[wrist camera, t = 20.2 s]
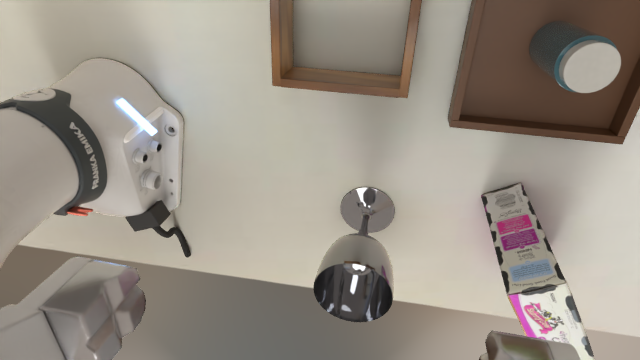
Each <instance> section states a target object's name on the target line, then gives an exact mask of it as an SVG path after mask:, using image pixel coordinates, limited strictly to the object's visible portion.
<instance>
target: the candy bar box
mask: <svg viewBox="0 0 640 360" xmlns="http://www.w3.org/2000/svg"><path fill="white" fill-rule="evenodd" d="M481 197H482V201H483V204H484V208H485V212H486V216H487V219H488V223H489V227H490V231H491V235H492V238H493V242H494V246H495V250H496V254H497V258H498V262H499V265H500V269H501V273H502V277H503V281H504V285H505V288H506V292H507V296H508V299H509V301H510V303H511V305H512V307H513V309H514V311H515V313H516V315H517V317H518V320H519V322H520V324H521V326H522V328H523V331H524V332H525V335H526V336H528V337H534V338H540V339H542V340H550V341H556V342H561V343H567V344H572V345H573V346H574V348H575V349H576V350H577V352H578V355H579V357H580V359H581V360H595V358H594V355H593V352H592V349H591V346H590V343H589V341H588V337H587V335H586V332H585V329H584V326H583V324H582V321H581V318H580V315H579V313H578V310H577V307H576V305H575V302H574V299H573V296H572V293H571V292H570V289H569V286H568V284H567V282H566V280H565V278H564V276H563V274H562V272H561V270H560V268H559V265H558V263H557V261H556V259H555V256H554V254H553V252H552V250H551V247H550V245H549V243H548V241H547V239H546V237H545V234H544V232H543V230H542V228H541V225H540V223H539V221H538V219H537V217H536V214H535V212H534V210H533V208H532V205H531V203H530V201H529V199H528V197H527V194H526V192H525V190H524V187H523V185H522V183H519V184H515V185H512V186H509V187H506V188H503V189H499V190H496V191H492V192H489V193H486V194H483V195H481Z"/></svg>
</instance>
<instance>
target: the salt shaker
mask: <svg viewBox="0 0 640 360" xmlns="http://www.w3.org/2000/svg"><path fill="white" fill-rule="evenodd" d="M529 55H530V58H531V60H532V61H533V62H534V63H535V64H536V65H537V66H538V67H539V68H540V69H542V70H543V71H544V72H545V73H546V74H547V75H548V76H550V77H551V78H552V79H553V80H554V81H555V82H556V83H558V84H559V85H560V86H561V87H562V88H564V89H565V90H568V91H571V92H579V93H591V92H595V91H598V90H600V89H602V88H604V87H606V86H607V85H608V84H610V83H611V82H612V81H613V80H614V78H615V77H616V76H617V74H618V72H619V70H620V66H621V57H620V54H619V52H618V50H617V48H616V46H615V44H614V43H613V42H612V41H611V40H609V39H608V38H606V37H603V36H601V35H598V34H596V33H594V32H591V31H589V30H587V29H584V28H582V27H579V26H577V25H575V24H572V23H570V22H567V21H554V22H551V23H548V24H546V25H545V26H543V27H542V28H540V29H539V30H538V31H537V32H536V33H535V35H534V36H533V38H532V40H531V42H530V46H529Z"/></svg>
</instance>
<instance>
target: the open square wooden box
mask: <svg viewBox="0 0 640 360" xmlns="http://www.w3.org/2000/svg"><path fill="white" fill-rule="evenodd" d="M421 3H422V0H411V5H410V12H409V19H408V27H407V34H406V42H405V49H404V57H403V64H402V71H401V76H399V75H387V74H375V73H363V72H351V71H338V70H326V69H314V68H302V67H293V0H270V20H271V52H272V85H273V86H281V87H287V88H298V89H308V90H319V91H330V92H341V93H352V94H363V95H374V96H385V97H396V98H398V97H401V98H407V97H408V91H409V84H410V77H411V71H412V64H413V57H414V50H415V43H416V37H417V30H418V23H419V16H420V9H421Z"/></svg>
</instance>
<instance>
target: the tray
mask: <svg viewBox="0 0 640 360" xmlns="http://www.w3.org/2000/svg"><path fill="white" fill-rule="evenodd" d="M554 21H567V22H570V23H572V24H575V25H577V26H579V27H582V28H584V29H587V30H589V31H591V32H594V33H596V34H598V35H601V36H603V37H606V38H608V39H609V40H611V41H612V42H613V43H614V44H615V46H616V48H617V50H618V52H619V54H620V57H621V66H620V70H619V72H618V74H617V76H616V77H615V78H614V80H613V81H612V82H611V83H610V84H608V85H607V86H606V87H604V88H602V89H600V90H598V91H595V92H591V93H579V92H571V91H568V90H565V89H564V88H562V87H561V86H560V85H559V84H558V83H556V82H555V81H554V80H553V79H552V78H551V77H550V76H548V75H547V74H546V73H545V72H544V71H543V70H542V69H540V68H539V67H538V66H537V65H536V64H535V63H534V62H533V61H532V60H531V58H530V55H529V46H530V42H531V40H532V38H533V36H534V35H535V33H536V32H537V31H538V30H539V29H540V28H542V27H543V26H545V25H546V24H548V23H551V22H554ZM639 107H640V0H472V3H471V8H470V13H469V18H468V22H467V27H466V32H465V37H464V42H463V47H462V51H461V56H460V61H459V66H458V71H457V76H456V81H455V85H454V90H453V95H452V100H451V105H450V110H449V114H448V121H449V126H450V127H456V128H466V129H476V130H486V131H496V132H505V133H515V134H525V135H535V136H545V137H555V138H565V139H575V140H584V141H594V142H604V143H614V144H623V142H624V140H625V137H626V135H627V133H628V131H629V129H630V127H631V124H632V122H633V120H634V118H635V116H636V113H637V111H638V109H639Z"/></svg>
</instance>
